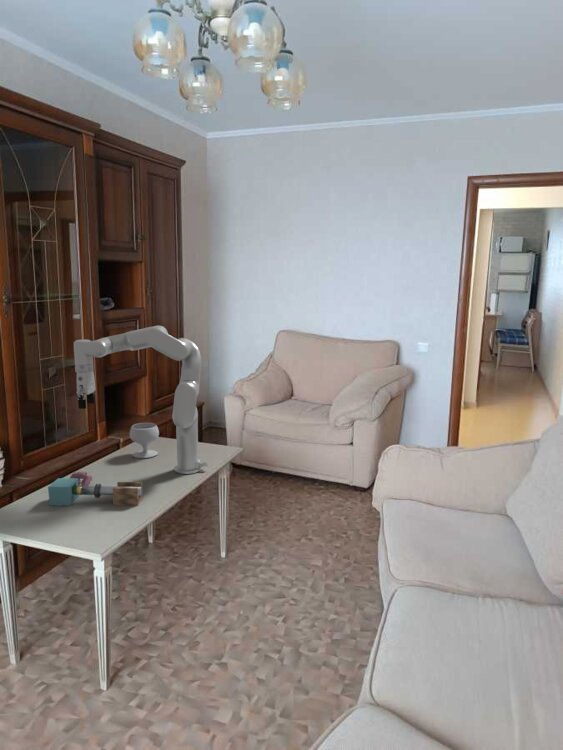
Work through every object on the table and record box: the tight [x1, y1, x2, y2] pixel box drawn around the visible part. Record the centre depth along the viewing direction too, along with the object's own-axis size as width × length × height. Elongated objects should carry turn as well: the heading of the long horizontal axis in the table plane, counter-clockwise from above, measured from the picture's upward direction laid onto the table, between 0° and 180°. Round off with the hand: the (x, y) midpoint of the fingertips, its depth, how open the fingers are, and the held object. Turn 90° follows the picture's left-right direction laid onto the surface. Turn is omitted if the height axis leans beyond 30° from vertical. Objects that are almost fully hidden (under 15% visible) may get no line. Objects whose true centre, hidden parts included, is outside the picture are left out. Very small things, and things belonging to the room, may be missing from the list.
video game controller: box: [69, 470, 93, 486], centre depth 229 cm, size 10×5×7 cm, turn 71°
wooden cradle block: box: [112, 481, 144, 506], centre depth 212 cm, size 10×7×7 cm
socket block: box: [47, 477, 80, 507], centre depth 212 cm, size 8×9×8 cm
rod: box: [74, 483, 143, 499], centre depth 212 cm, size 26×5×5 cm, turn 89°
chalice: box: [129, 422, 160, 459], centre depth 267 cm, size 14×14×15 cm
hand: (86, 405), depth 241 cm, fingers open, 9 cm apart
